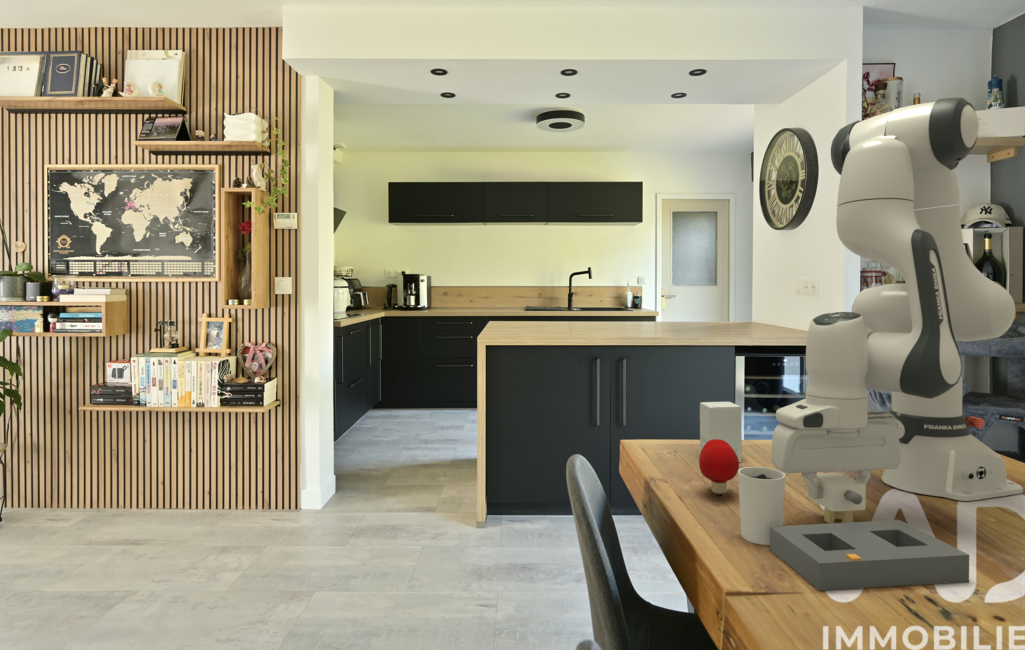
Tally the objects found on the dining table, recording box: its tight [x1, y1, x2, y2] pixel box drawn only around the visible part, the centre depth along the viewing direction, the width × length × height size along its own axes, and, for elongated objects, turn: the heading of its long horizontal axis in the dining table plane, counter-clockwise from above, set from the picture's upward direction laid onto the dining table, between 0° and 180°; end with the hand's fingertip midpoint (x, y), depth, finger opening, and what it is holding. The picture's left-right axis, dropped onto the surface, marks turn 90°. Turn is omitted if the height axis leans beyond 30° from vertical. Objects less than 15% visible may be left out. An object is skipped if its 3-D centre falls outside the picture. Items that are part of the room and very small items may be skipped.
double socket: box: [769, 519, 970, 591], centre depth 80 cm, size 20×12×4 cm, turn 94°
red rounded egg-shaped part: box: [698, 439, 740, 496], centre depth 109 cm, size 9×7×10 cm
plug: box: [807, 472, 867, 524], centre depth 94 cm, size 6×8×7 cm, turn 4°
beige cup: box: [737, 466, 786, 546], centre depth 89 cm, size 7×7×10 cm
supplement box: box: [699, 401, 743, 463], centre depth 133 cm, size 7×7×13 cm
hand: (835, 496), depth 95 cm, fingers closed on plug, 5 cm apart
